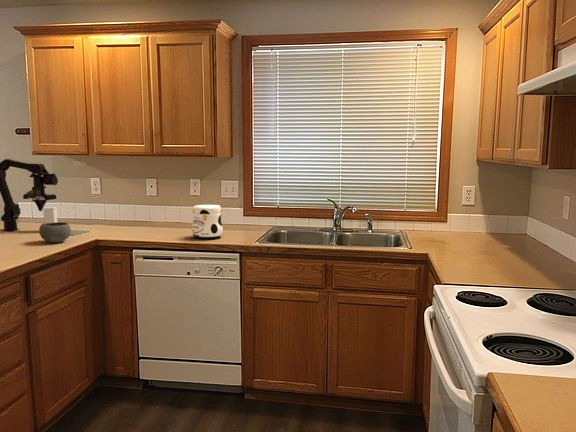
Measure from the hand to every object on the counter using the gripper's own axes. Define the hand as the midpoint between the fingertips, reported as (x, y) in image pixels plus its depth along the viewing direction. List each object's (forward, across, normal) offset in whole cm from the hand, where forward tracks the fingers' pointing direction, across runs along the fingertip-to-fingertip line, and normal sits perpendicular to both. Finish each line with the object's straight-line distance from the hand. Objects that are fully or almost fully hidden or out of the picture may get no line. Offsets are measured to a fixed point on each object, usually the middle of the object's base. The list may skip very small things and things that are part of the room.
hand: (40, 211), depth 294 cm
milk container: (+13, +102, +10) cm, 103 cm away
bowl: (+12, +31, -27) cm, 43 cm away
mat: (+12, +19, 0) cm, 23 cm away
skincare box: (+12, +7, 0) cm, 14 cm away
